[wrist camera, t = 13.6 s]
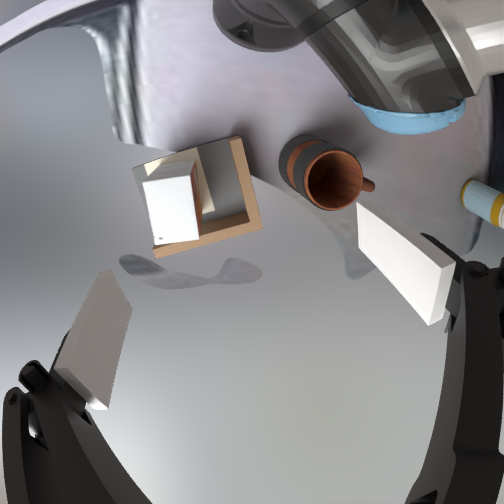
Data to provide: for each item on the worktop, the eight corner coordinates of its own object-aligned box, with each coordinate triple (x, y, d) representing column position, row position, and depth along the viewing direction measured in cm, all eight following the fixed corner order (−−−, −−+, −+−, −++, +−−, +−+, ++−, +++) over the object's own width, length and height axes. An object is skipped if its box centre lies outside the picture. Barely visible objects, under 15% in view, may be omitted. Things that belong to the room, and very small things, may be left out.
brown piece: (132, 167, 37) (123, 175, 33) (237, 135, 37) (241, 138, 33) (161, 243, 43) (156, 258, 39) (257, 216, 44) (262, 228, 39)
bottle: (455, 201, 48) (504, 229, 35) (467, 173, 45) (517, 197, 32) (469, 211, 50) (513, 239, 37) (479, 186, 47) (525, 210, 34)
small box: (202, 211, 41) (201, 241, 32) (166, 215, 41) (154, 247, 32) (196, 158, 37) (191, 173, 28) (158, 164, 37) (141, 181, 28)
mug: (340, 197, 44) (376, 224, 34) (271, 184, 42) (292, 209, 31) (353, 148, 40) (395, 162, 30) (283, 129, 38) (310, 136, 28)
